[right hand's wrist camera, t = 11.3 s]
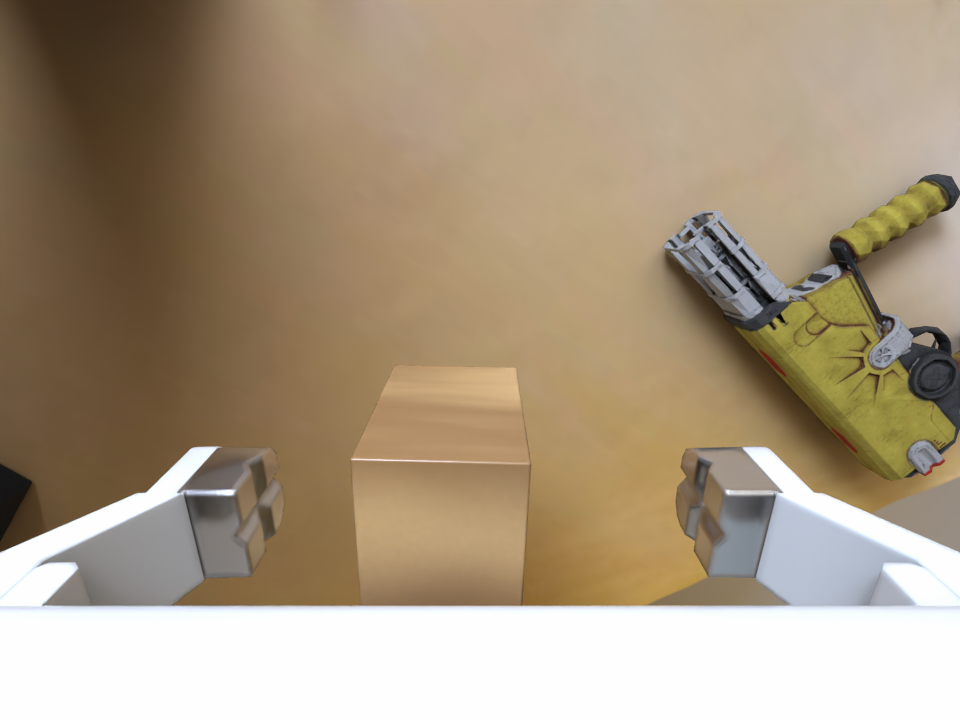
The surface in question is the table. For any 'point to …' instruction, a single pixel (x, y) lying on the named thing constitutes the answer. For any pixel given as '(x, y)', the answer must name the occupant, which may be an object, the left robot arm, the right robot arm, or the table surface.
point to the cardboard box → (10, 495)
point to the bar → (443, 489)
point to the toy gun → (842, 334)
